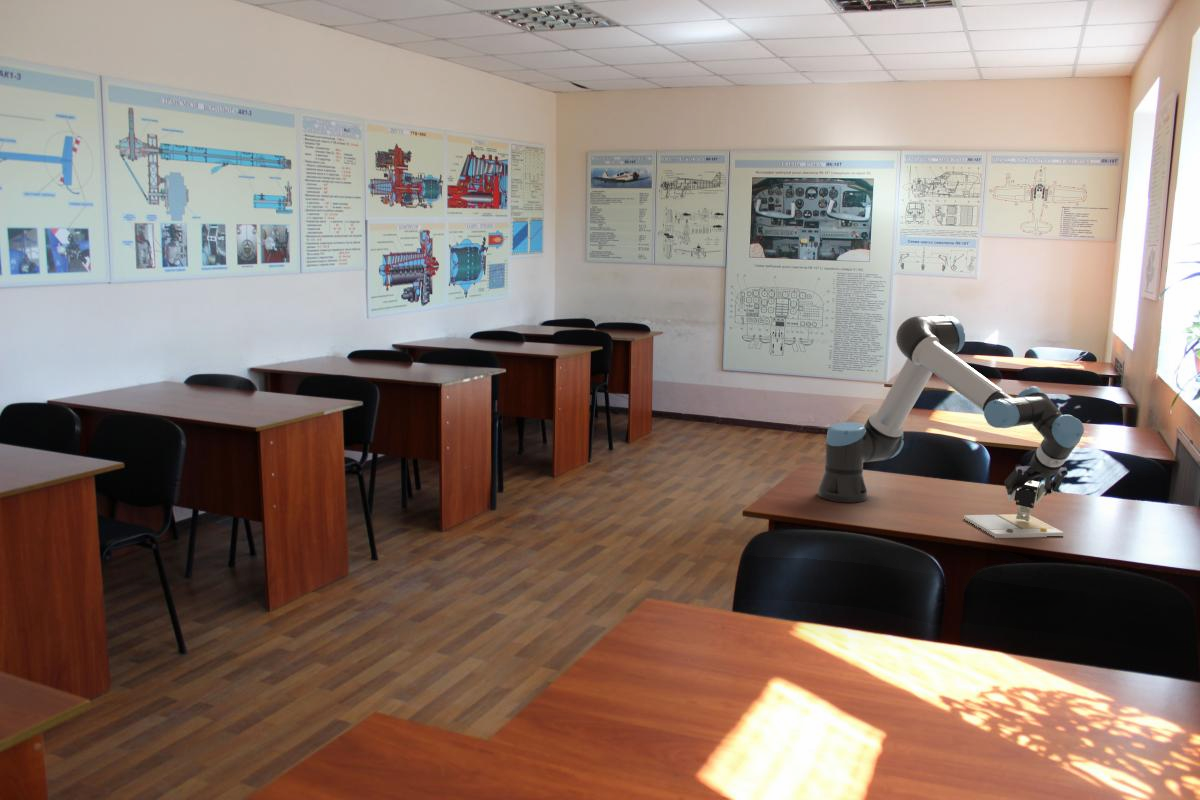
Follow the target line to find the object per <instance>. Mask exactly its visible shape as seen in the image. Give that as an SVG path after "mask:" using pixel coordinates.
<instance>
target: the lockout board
mask: <svg viewBox="0 0 1200 800" xmlns="http://www.w3.org/2000/svg"><path fill="white" fill-rule="evenodd" d="M1023 514H1024V515H1026V514H1025V513H1023ZM1016 516H1017V513H1012V514H1011V513H1010V514H1008V513H1007V514H1006V513H1005V514H1004V513H1003V514H1002V513H1001V514H965V515H963V520H964V519H965V520H964V521H966V520H967V521H968V523H969V522H970V523H969V524H971V523H972V524H974V525H975V527H976V526H977V527H976V528H978V527H979V528H981V529H982V530H981V529H980V530H981V531H983V530H984V531H986V532H987V534H988V533H989V534H990V536H991V535H992V536H991V537H993V536H994V537H993V538H994V539H1011V538H1012V539H1014V538H1015V539H1017V538H1048V537H1047V536H1063V537H1064V534H1065V533H1064V531H1062V530H1060V529H1058V528H1056V527H1054V526H1052V525H1050V524H1048V523H1046V522H1045V521H1042V520H1041V519H1038V518H1037V517H1034V516H1033V515H1030V519H1029V521H1026V520H1021V519H1016ZM967 521H966V522H967ZM972 524H971V525H972ZM974 525H973V526H974ZM979 528H978V529H979ZM984 531H983V532H984ZM986 532H985V533H986ZM989 534H988V535H989Z"/></svg>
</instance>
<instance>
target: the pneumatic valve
mask: <svg viewBox="0 0 1200 800" xmlns="http://www.w3.org/2000/svg"><path fill="white" fill-rule="evenodd" d="M1040 485H1041V484H1040V481H1037V480H1032V481H1031V480H1029V481H1028V482H1027V483H1025V484H1024V485H1020V486H1019V488H1018V489H1016V493H1015V497H1014V498H1013V501H1015V505H1016V506H1018V507H1017V513H1016V514H1017V516H1016V519H1021V520H1026V521H1029V519H1030V516H1031V512H1032V509H1034V508H1035V505H1036V504H1037V503H1036V499H1037V494H1038V489H1039V487H1040ZM1024 514H1026V515H1024Z"/></svg>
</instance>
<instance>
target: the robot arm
mask: <svg viewBox="0 0 1200 800" xmlns="http://www.w3.org/2000/svg"><path fill="white" fill-rule="evenodd" d="M964 330H965V329H964V327H963V324H962V323H961V322H960V320H959V319H958V318H956V317H954V316H953V315H952V316H951V315H944V314H939V315H926V316H925V315H923V316H921V315H916V316H912V317H910V318H907V319H905V320H904V321H903V322H902V323H901V324H900V325H899V327H898V329H897V331H896V336H895V337H896V338H895V340H896V341H895V342H896V344H897V347H898V349H899V351H900V352H901V354H902V355H903V356H904V357H906V358H907V359H906V360H905V362H904V364H903V366H902V368H901V369H900V370H899V373H898V375H897V377H896V378H895V380H894V382H893V384H892V386H891V388H890V389H889V391H888V392H887V394H886V396H885V398H884V400H883V402H882V403H881V405H880V407H879V409H878V410H877V412H874V413H871V414H870V415H869V417H867V420H866V422H865V423H864V424H863V423H861V422H856V421H848V422H846V421H845V422H844V421H843V422H837V423H834V424H832V425H831V426H829V427H828V428H827V432H826V433H827V434H826V438H825V441H826V442H825V462H824V463H825V465H824V472H823V476H822V478H821V481H820V483H819V486H818V489H817V490H818V491H817V496H818V497H819V498H822V499H823V500H826V501H831V502H837V503H850V504H851V503H861V502H864V501H866V500H867V499H868V489H867V487H866V483H865V478H864V474H863V469H864V463H869V462H870V463H871V462H879V461H886V460H888V459H893V458H894V457H896V456H897V455H898V454H900V452H901V451H902V449H903V446H904V443H905V442H904V440H903V439H904V431H905V430H904V428H903V424H904V423H905V421H906V420H907V417H908V416H909V414H910V412H911V411H912V409H913V408H914V406H915V404H916V403H917V401H918V399H919V397H920V396H921V394H922V392H923V390H924V389H925V388H926V385H927V383H928V382H929V380H930V379H931V377H932V375H935V376H936V377H937V378H939V379H940V380H942V381H943V382H945V384H946V385H948V386H949V387H951V388H952V389H953V390H954V391H956V392H957V393H958V394H960V395H961V396H962V397H964V398H965V399H966V400H968V401H969V402H970V403H972V405H974V406H975V407H976V408H978V409H979V410H981V411H982V412H983V417H984V419H985V421H986V423H987V424H988V425H989V426H991V427H992V428H995V429H996V428H998V429H1007V428H1013V427H1019V426H1027V425H1032V426H1033V427H1034V429H1036V431H1037V432H1038V433H1039V434H1040V436H1042V437H1043V439H1042V440H1041V442H1040V444H1039V446H1038V447H1037V449H1036V451H1035V452H1034V454H1033V455H1032V457H1031V458H1030V459H1031V460H1030V462H1029V463H1027V464H1026V465H1024V466H1022V465H1021V464H1020V463H1017V464H1015V468H1014V469H1013V471H1012V472H1011V473H1010V474H1009V475H1008V476H1007V478H1005V479H1004V486H1005V489H1006V492H1007V493H1006V494H1005V496H1006V499H1007V502H1008V503H1012V501H1014V498H1015V493H1016V489H1018V488H1019V486H1020V485H1024V484H1025V483H1027V482H1028V481H1029V480H1031V481H1035V480H1036V479H1037V478H1041V479H1044V483H1041V484H1039V489H1038V494H1037V499H1036V503H1035V504H1039V503H1040V502H1041V500H1042V499H1043V497H1045V496H1047V495H1050V494H1052V490H1053V491H1056V492H1057V491H1058V490H1059V489H1060V487H1061V485H1062V482H1063V480H1064V477H1066V476H1067V475H1068V468H1067V466H1066V464H1065V465H1064V463H1065V462H1066V461H1067V459H1068V458H1069V456H1070V455H1071V453H1072V452H1073V450H1074V449H1075V448H1076V446H1078V444H1079V443H1080V441H1081V438H1082V437H1083V436H1084V435H1083V434H1084V432H1085V428H1084V425H1083V422H1082V421H1081V420H1080V419H1079V418H1076V417H1075V416H1073V415H1071V414H1063V413H1062V412H1061V411H1060V409H1059V408H1058V407H1057V406H1056V405H1055V403H1054V402H1053V401H1052V400H1051V399H1050V397H1049V396H1048V395H1047V394H1046V393H1045V392H1044V391H1043V390H1042V389H1041V388H1040V387H1038V386H1035V385H1034V386H1030V387H1028V388H1025V389H1023V390H1022V391H1020V392H1019V393H1018V394H1017V395H1016V397H1013V396H1011V395H1010V394H1008V393H1007V392H1006V391H1004V390H1003V389H1002V388H1000V387H999V386H998V385H996V384H995V383H993V382H992V381H990V380H989V379H988V378H987V377H985V376H984V375H983V374H981V373H980V372H978V371H977V370H976V369H974V368H973V367H971V366H970V365H969V364H968V363H966V362H965V361H964V360H962V359H961V358H959V357H958V356H957V355H955V354H957V353H959V352H960V351H961V350H962V348H963V347H964V345H965V341H966V333H965V331H964ZM1051 476H1054V477H1053V479H1052V482H1051Z"/></svg>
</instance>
